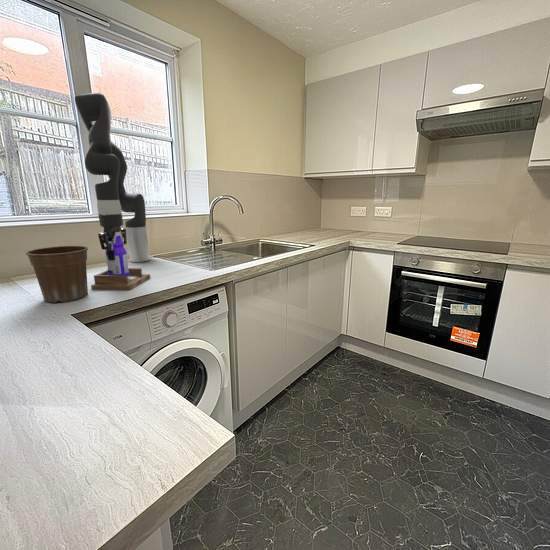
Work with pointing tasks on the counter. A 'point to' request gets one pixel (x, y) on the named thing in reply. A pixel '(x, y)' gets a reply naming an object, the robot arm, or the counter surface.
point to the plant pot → (60, 272)
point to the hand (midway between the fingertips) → (116, 258)
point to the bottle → (118, 259)
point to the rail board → (119, 280)
